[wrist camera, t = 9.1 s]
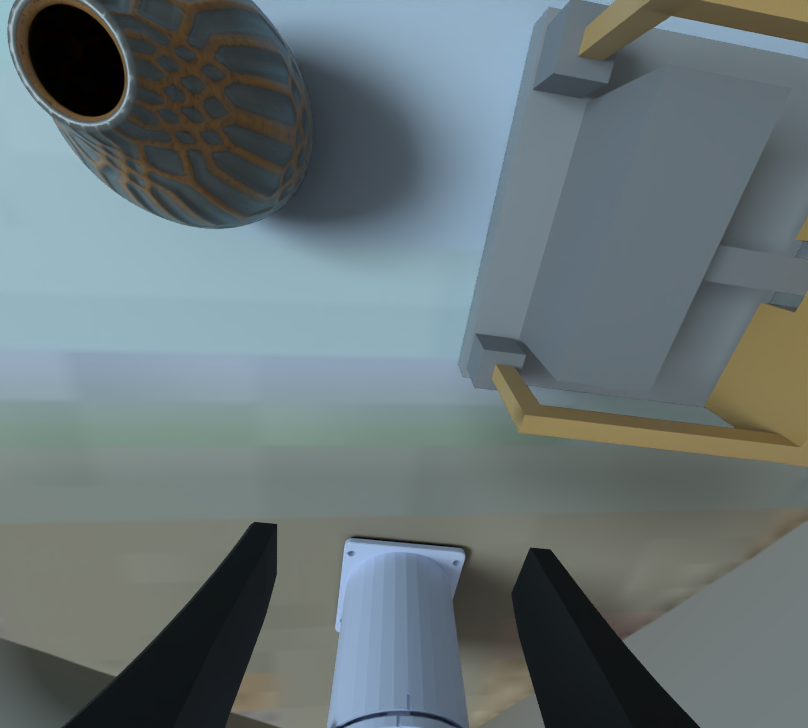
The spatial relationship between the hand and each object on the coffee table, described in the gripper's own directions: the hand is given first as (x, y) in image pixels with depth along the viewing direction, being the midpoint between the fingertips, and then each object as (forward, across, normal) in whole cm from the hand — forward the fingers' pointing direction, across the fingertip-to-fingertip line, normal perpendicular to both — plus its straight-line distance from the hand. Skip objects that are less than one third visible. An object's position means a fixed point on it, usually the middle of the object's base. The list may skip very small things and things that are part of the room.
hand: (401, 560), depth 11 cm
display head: (+10, -9, -9) cm, 16 cm away
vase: (+11, +8, -11) cm, 17 cm away
